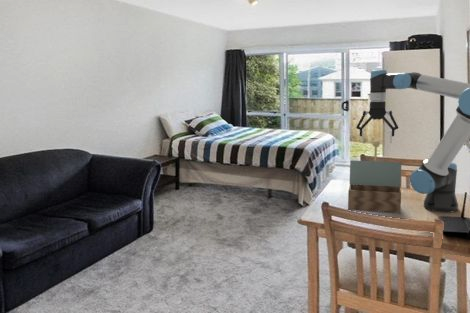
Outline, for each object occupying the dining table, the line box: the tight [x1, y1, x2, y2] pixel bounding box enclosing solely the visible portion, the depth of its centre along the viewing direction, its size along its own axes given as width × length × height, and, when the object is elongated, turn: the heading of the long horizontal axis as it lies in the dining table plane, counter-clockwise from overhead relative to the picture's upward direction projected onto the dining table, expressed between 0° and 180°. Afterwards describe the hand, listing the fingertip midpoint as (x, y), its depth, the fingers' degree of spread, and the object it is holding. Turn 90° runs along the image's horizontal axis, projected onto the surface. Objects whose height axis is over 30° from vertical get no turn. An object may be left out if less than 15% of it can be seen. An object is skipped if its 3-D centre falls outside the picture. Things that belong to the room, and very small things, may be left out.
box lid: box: [349, 139, 402, 188], centre depth 205 cm, size 25×23×4 cm
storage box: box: [347, 184, 402, 214], centre depth 200 cm, size 24×12×10 cm, turn 71°
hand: (376, 142), depth 207 cm, fingers open, 13 cm apart
